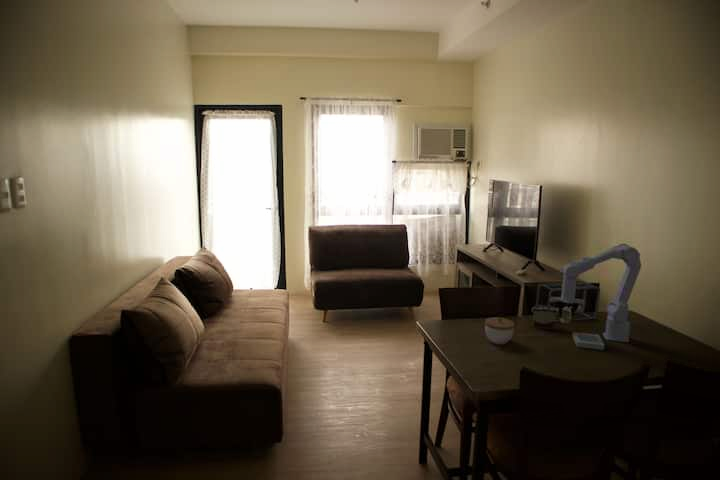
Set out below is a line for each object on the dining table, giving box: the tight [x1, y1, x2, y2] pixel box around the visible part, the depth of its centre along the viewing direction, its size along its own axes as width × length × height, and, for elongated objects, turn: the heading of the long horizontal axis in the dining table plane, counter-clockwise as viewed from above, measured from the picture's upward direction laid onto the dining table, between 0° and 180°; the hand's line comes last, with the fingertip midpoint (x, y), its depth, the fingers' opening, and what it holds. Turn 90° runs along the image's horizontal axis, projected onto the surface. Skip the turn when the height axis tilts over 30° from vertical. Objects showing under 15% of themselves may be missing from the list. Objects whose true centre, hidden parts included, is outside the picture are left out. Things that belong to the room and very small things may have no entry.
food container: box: [531, 304, 558, 329], centre depth 236 cm, size 12×6×10 cm, turn 84°
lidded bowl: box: [484, 317, 515, 345], centre depth 215 cm, size 13×13×11 cm
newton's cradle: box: [535, 281, 601, 324], centre depth 247 cm, size 30×10×18 cm, turn 105°
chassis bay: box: [571, 331, 605, 351], centre depth 216 cm, size 11×12×2 cm
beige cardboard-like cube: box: [559, 309, 572, 324], centre depth 224 cm, size 4×5×5 cm
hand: (565, 317), depth 224 cm, fingers closed on beige cardboard-like cube, 4 cm apart
